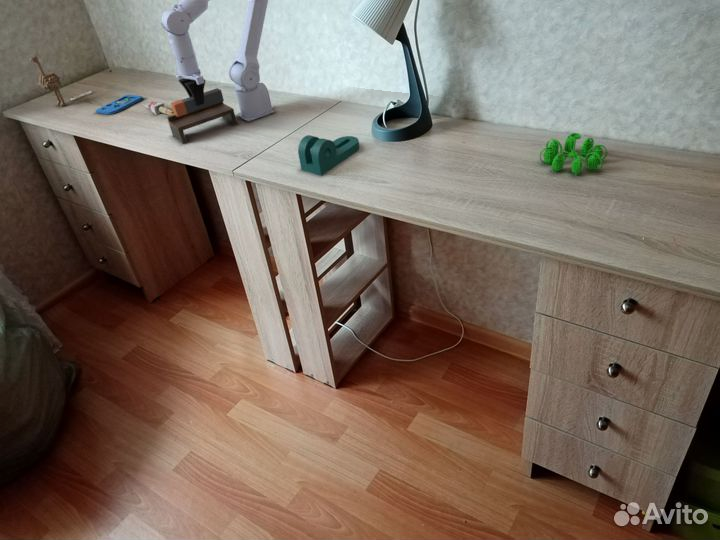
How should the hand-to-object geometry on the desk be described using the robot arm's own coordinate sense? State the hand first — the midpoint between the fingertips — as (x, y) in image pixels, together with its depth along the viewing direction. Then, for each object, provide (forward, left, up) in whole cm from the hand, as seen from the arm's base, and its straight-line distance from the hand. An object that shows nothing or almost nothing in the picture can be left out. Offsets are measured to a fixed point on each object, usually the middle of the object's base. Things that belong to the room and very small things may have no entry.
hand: (198, 103), depth 165 cm
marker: (0, 0, -1) cm, 1 cm away
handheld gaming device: (+12, -47, -9) cm, 49 cm away
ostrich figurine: (+23, -69, -9) cm, 73 cm away
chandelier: (-53, +92, -9) cm, 106 cm away
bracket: (-16, +46, -9) cm, 49 cm away
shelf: (0, -1, -9) cm, 9 cm away
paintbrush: (+4, -27, -9) cm, 29 cm away
